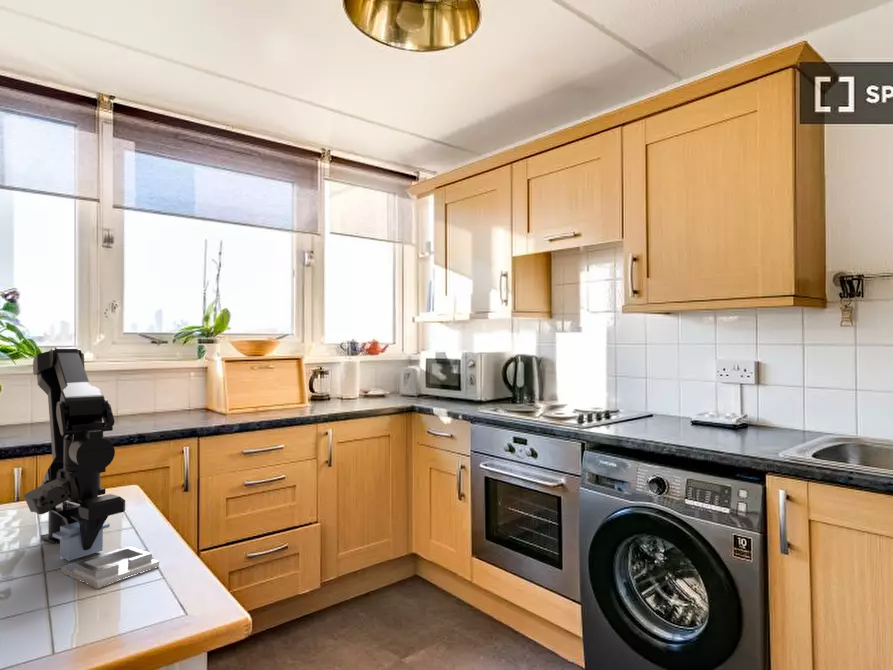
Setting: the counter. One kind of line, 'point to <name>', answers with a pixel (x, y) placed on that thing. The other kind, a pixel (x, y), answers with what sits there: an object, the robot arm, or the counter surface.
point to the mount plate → (111, 566)
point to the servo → (77, 541)
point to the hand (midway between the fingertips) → (81, 547)
